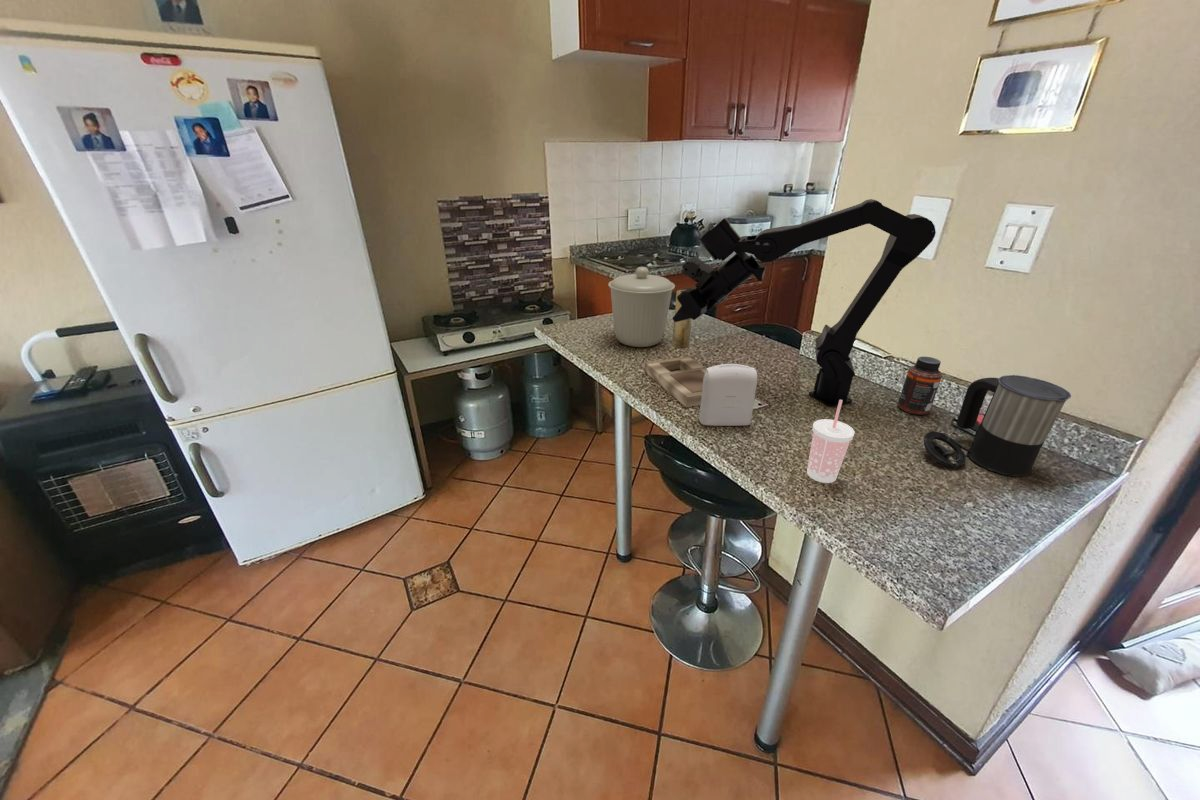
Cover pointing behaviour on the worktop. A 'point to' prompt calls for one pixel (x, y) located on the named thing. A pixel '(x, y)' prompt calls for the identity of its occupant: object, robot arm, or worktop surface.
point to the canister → (640, 307)
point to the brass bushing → (681, 329)
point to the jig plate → (679, 378)
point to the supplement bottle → (920, 386)
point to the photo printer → (728, 395)
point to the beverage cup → (828, 448)
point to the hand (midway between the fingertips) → (677, 318)
